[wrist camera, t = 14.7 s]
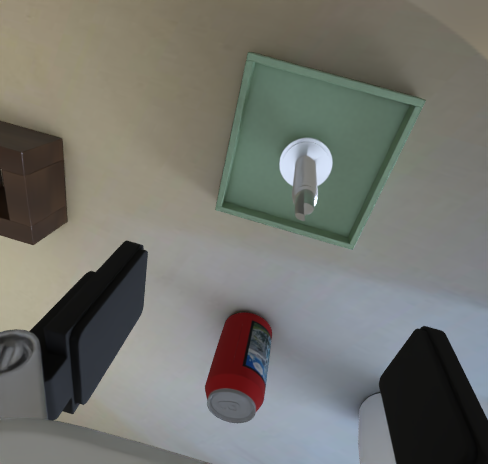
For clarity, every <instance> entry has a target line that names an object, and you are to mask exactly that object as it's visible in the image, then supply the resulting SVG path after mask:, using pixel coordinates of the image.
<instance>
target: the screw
mask: <svg viewBox="0 0 488 464" xmlns="http://www.w3.org/2000/svg"><path fill="white" fill-rule="evenodd" d="M332 163H333V162H332V155H331V153H330V150H329V149H328V147H327V146H326V145H325V144H324V143H323V142H321V141H320V140H318V139H315V138H310V137H304V138H299V139H296V140H294V141H292V142H291V143H289V144H288V145H287V146H286V147H285V149H284V150H283V152H282V154H281V157H280V163H279V165H280V171H281V174H282V176H283V178H284V179H285V180H286V181H287V183H289V184H290V185H292V186H293V188H292V200H293V203H294V205H295V216H296V218H297V219H299V220H301V221H305V215H307V214H311V213H312V212H313V211H314V206H315V204H316V202H317V198H318V189H317V186H319V185H320V184H322V183H323V182H324V181H325V180H326V179H327V178H328V176H329V174H330V172H331V169H332Z"/></svg>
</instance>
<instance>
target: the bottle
mask: <svg viewBox="0 0 488 464" xmlns="http://www.w3.org/2000/svg"><path fill="white" fill-rule="evenodd" d="M358 447H359V459H360V464H396V461H395V456H394V452H393V447H392V442H391V438H390V433H389V429H388V424H387V420H386V415H385V410H384V406H383V401H382V397H381V393H378V394H375V395H372V396H370V397H368V398H367V399H366V400H365V401H364V402H363V403H362V405H361V407H360V409H359V433H358Z"/></svg>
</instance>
